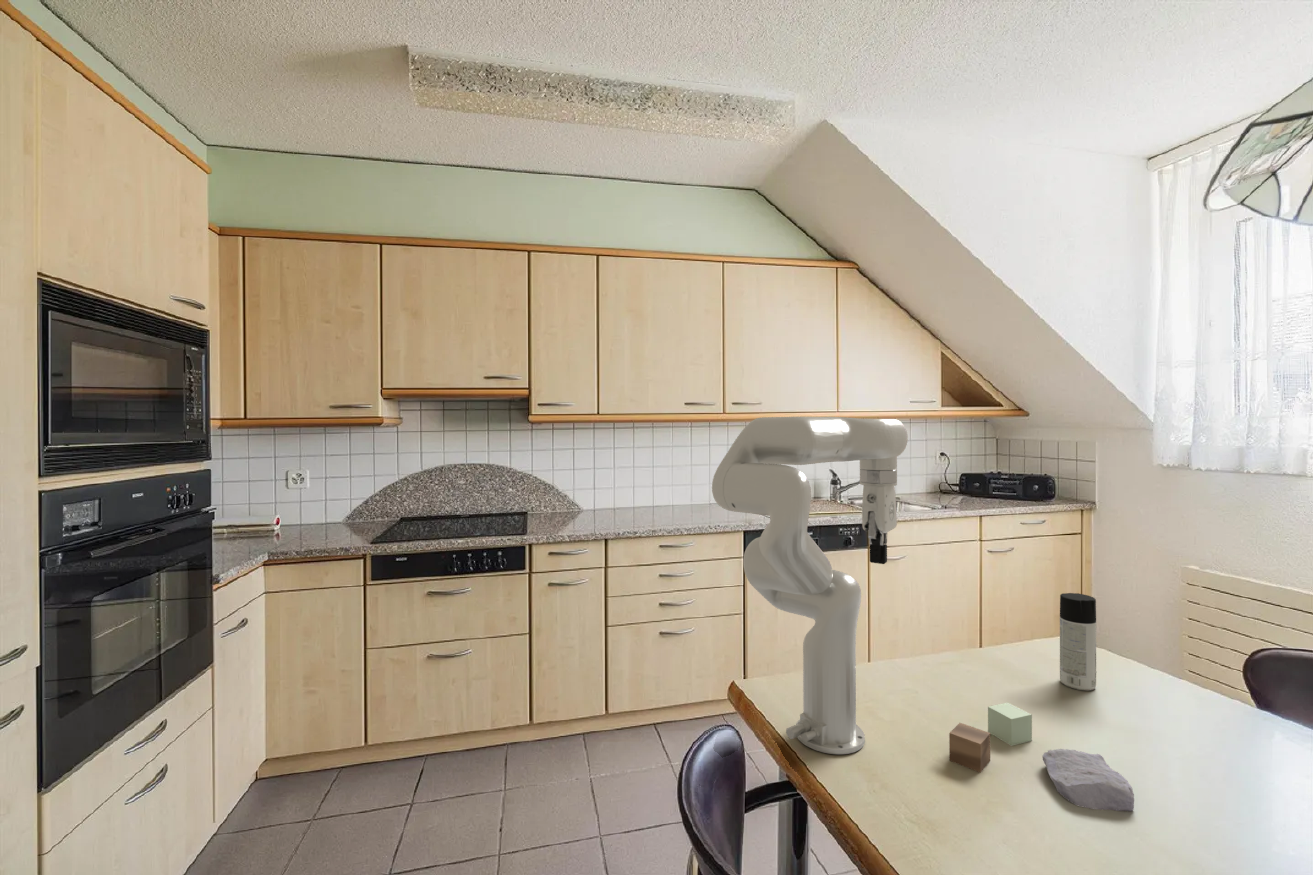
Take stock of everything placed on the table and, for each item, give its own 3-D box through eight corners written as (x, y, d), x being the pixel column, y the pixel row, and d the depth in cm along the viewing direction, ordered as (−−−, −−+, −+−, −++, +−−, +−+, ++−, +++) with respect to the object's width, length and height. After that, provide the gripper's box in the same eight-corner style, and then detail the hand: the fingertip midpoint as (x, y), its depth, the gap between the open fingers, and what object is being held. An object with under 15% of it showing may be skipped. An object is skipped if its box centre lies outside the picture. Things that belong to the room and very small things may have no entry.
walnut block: (980, 773, 98) (980, 743, 98) (949, 760, 101) (949, 732, 101) (990, 761, 101) (990, 732, 101) (959, 749, 105) (959, 722, 105)
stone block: (1071, 819, 89) (1144, 814, 87) (1063, 787, 89) (1136, 781, 87) (1036, 776, 101) (1100, 770, 99) (1030, 748, 101) (1093, 742, 99)
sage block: (1011, 746, 106) (1011, 719, 106) (987, 732, 111) (988, 706, 111) (1031, 741, 107) (1031, 714, 107) (1007, 727, 112) (1007, 702, 112)
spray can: (1104, 691, 127) (1104, 600, 126) (1072, 691, 127) (1073, 600, 126) (1082, 678, 133) (1082, 591, 133) (1052, 678, 133) (1052, 592, 133)
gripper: (886, 481, 117) (886, 572, 117) (905, 476, 129) (905, 558, 129) (849, 479, 121) (849, 567, 121) (870, 474, 133) (870, 554, 133)
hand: (878, 562), depth 125 cm, fingers closed
